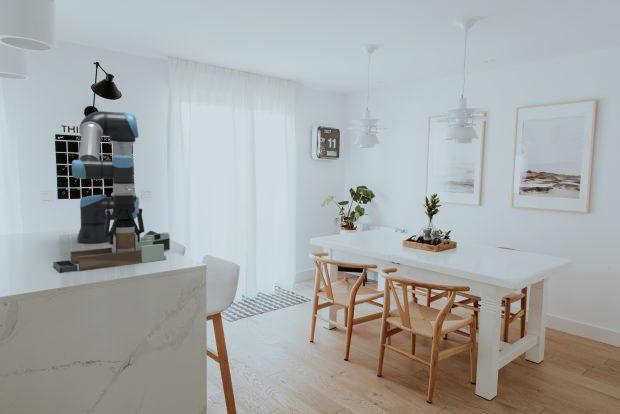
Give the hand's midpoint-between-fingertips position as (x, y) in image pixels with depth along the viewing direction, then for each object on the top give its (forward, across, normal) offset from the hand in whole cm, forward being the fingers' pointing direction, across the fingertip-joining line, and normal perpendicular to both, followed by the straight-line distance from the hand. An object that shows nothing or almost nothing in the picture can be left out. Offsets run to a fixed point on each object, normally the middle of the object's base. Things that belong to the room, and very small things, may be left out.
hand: (124, 251), depth 163 cm
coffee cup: (+2, 0, 0) cm, 2 cm away
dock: (+4, +9, 0) cm, 10 cm away
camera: (+4, +16, +13) cm, 21 cm away
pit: (+4, -21, 0) cm, 21 cm away
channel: (+4, -7, 0) cm, 8 cm away
